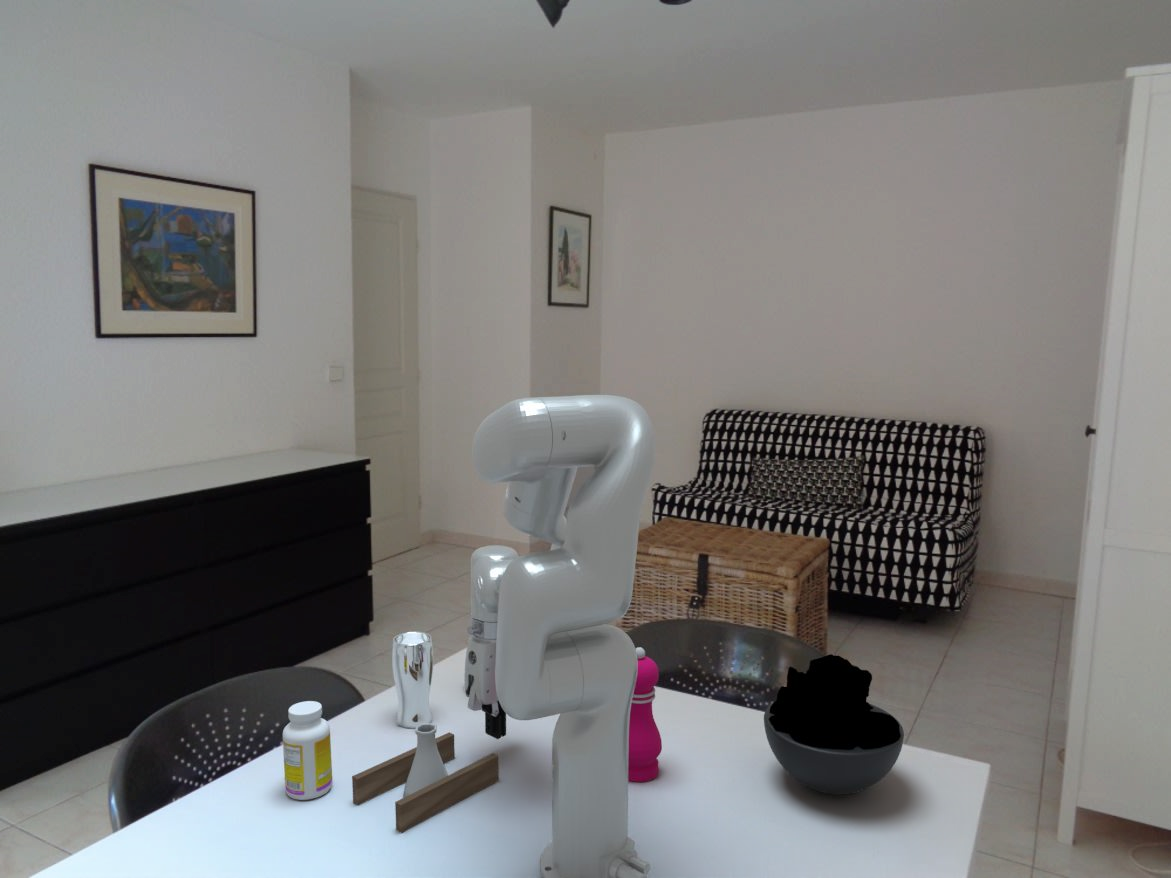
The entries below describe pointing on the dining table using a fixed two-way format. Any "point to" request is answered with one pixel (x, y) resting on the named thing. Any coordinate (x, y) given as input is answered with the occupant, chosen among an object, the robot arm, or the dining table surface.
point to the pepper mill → (643, 723)
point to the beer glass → (413, 677)
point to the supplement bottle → (307, 752)
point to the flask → (425, 760)
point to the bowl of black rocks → (832, 728)
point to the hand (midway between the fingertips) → (495, 734)
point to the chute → (431, 796)
